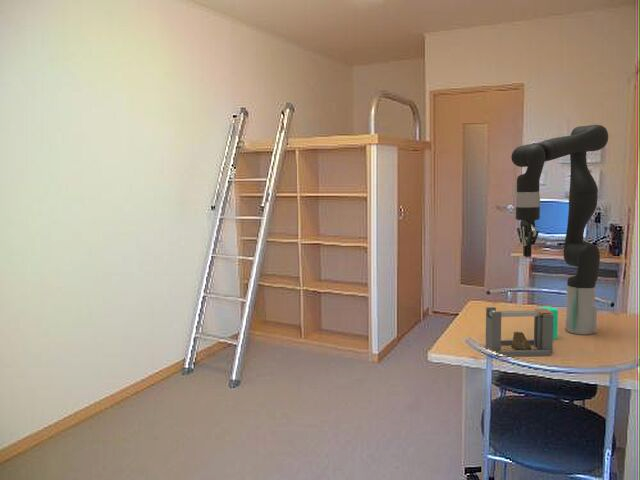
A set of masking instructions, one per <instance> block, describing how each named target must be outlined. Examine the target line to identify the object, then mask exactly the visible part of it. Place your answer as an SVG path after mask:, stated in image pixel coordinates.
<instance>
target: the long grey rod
mask: <svg viewBox="0 0 640 480" xmlns="http://www.w3.org/2000/svg"><path fill="white" fill-rule="evenodd" d="M491 312H501V318H508V317H509V318H511V317H512V318H514V317H517V318H518V317H523V318H524V317H534V316H543V314H553V312H551V311H550V310H548V309H540V308H534V310H533V309H532V310H498V311H497V310H496V311H495V310H494V309H490V310H489V311H488V314H489V315H490V316H491Z"/></svg>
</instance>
